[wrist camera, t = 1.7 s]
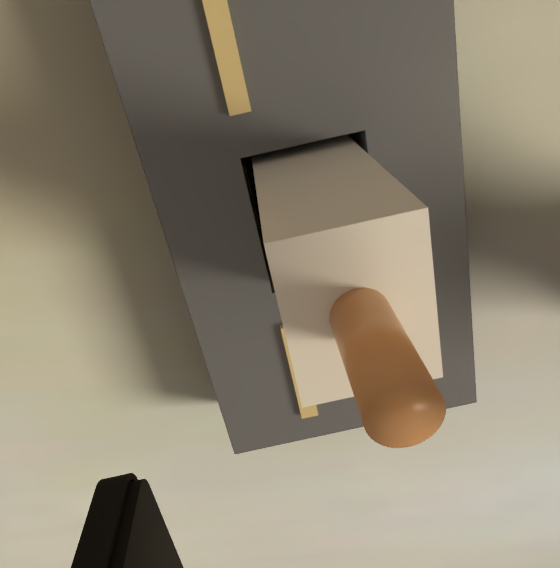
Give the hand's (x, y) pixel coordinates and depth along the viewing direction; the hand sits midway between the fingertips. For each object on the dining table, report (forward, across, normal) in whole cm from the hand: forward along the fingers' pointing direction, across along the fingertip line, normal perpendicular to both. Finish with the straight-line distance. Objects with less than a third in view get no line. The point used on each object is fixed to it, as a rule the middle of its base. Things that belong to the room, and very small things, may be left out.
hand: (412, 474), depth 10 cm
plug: (+17, 0, -1) cm, 17 cm away
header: (+17, 0, -1) cm, 17 cm away
